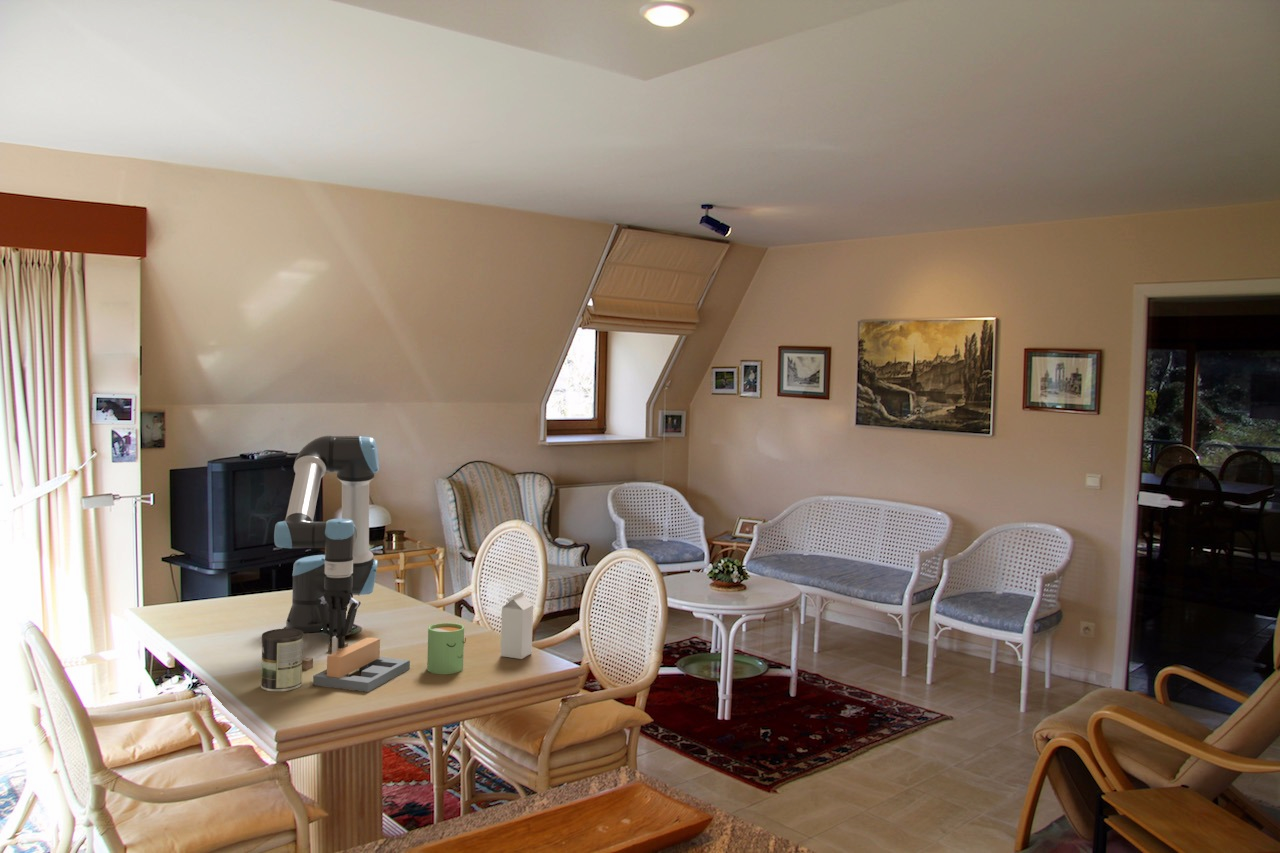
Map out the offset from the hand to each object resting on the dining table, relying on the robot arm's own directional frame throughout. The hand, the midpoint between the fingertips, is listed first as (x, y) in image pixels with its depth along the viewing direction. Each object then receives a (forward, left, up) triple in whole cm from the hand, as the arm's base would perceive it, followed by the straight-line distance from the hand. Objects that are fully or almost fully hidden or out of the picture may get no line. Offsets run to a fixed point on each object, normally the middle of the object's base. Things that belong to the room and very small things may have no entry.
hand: (336, 659), depth 259 cm
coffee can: (-7, -14, -4) cm, 17 cm away
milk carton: (+39, +35, -4) cm, 53 cm away
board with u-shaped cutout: (+8, 0, -4) cm, 9 cm away
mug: (+26, +16, -4) cm, 31 cm away
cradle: (-12, +10, -4) cm, 16 cm away
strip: (+5, 0, -4) cm, 7 cm away
